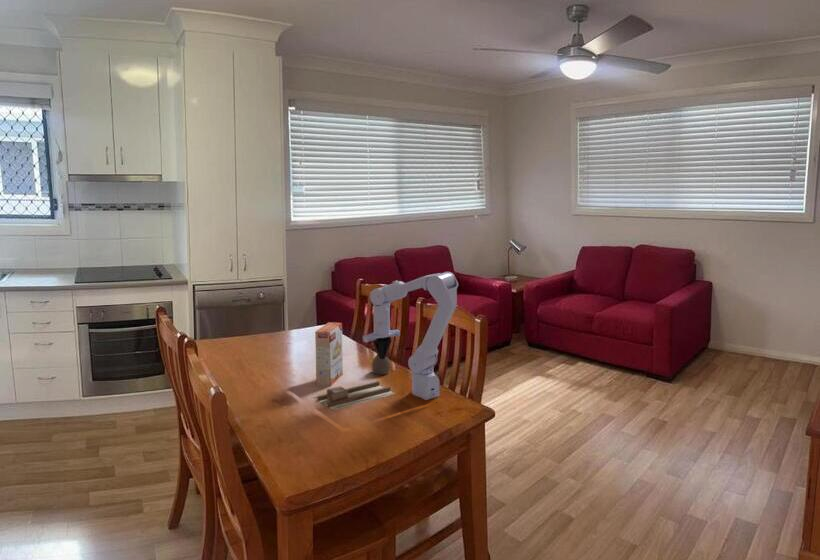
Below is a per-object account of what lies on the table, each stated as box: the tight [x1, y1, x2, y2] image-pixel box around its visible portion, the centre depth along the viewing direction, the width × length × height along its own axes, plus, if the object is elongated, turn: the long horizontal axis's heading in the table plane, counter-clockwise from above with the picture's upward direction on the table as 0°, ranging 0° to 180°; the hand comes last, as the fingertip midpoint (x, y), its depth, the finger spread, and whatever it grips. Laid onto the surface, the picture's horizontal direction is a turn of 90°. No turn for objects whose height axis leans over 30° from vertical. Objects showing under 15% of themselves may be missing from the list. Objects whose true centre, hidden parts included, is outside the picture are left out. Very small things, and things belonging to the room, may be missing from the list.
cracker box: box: [314, 321, 344, 387], centre depth 209 cm, size 14×6×21 cm, turn 168°
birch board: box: [313, 381, 396, 411], centre depth 195 cm, size 14×24×2 cm, turn 126°
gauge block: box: [326, 385, 348, 402], centre depth 191 cm, size 5×5×4 cm
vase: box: [371, 352, 391, 376], centre depth 217 cm, size 7×7×9 cm
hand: (382, 358), depth 204 cm, fingers closed
